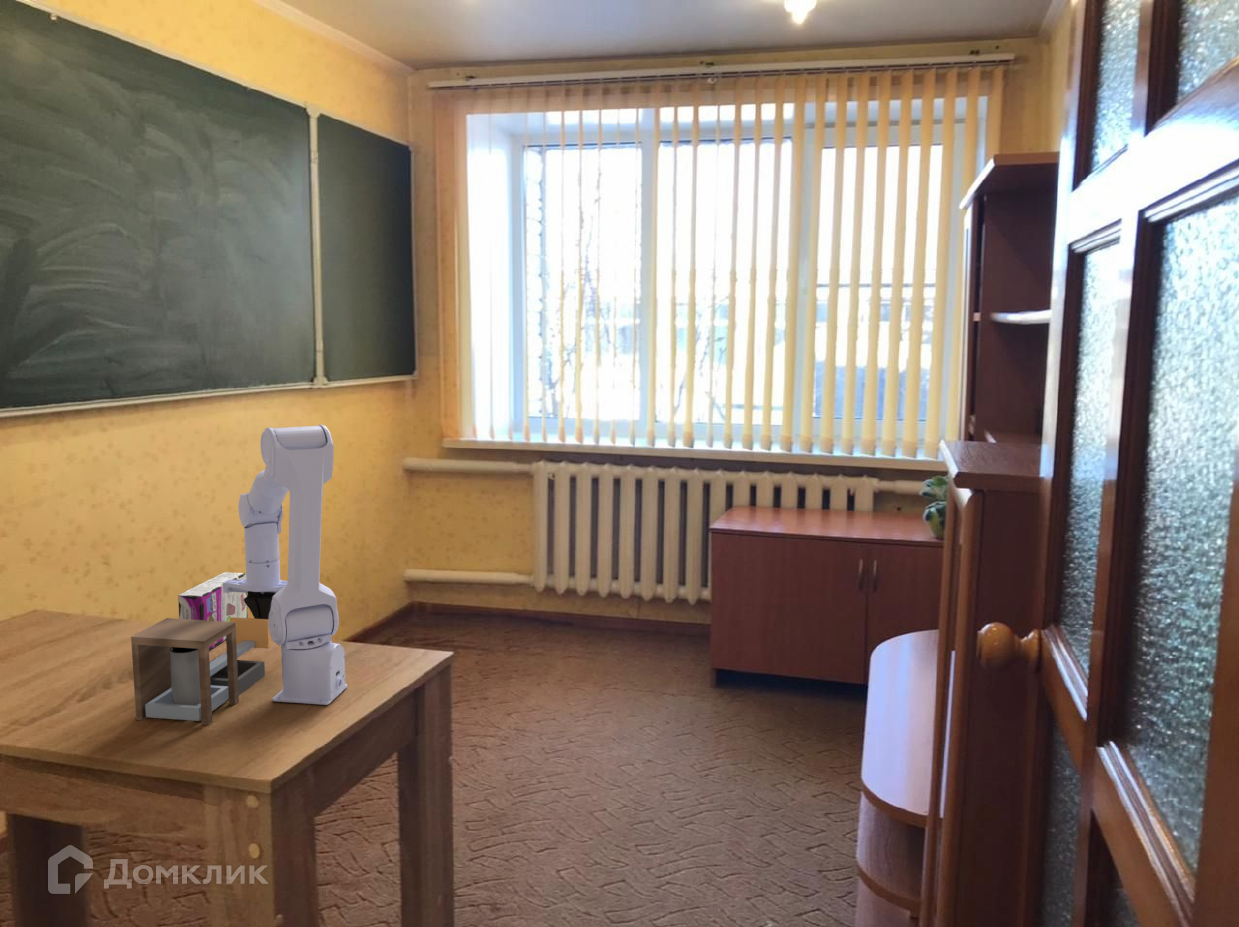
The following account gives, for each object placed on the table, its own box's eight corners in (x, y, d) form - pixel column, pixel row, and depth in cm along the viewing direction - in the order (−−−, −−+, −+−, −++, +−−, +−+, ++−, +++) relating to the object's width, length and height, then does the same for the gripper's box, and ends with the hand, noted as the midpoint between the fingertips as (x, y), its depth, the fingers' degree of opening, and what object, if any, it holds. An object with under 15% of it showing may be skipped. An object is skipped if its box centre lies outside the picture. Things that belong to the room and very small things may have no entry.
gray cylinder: (170, 717, 143) (166, 653, 141) (175, 706, 147) (172, 643, 145) (202, 714, 144) (199, 651, 142) (206, 703, 148) (203, 641, 147)
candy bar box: (177, 652, 170) (225, 625, 186) (203, 654, 169) (249, 627, 185) (175, 593, 168) (224, 571, 184) (201, 595, 168) (248, 572, 184)
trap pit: (264, 675, 160) (264, 661, 160) (237, 695, 151) (237, 681, 151) (215, 672, 161) (214, 658, 161) (185, 692, 152) (184, 677, 152)
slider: (276, 663, 165) (274, 619, 163) (199, 720, 141) (196, 670, 139) (230, 660, 165) (228, 616, 164) (146, 716, 142) (143, 666, 140)
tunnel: (238, 701, 149) (235, 622, 147) (208, 725, 140) (203, 641, 138) (171, 696, 150) (166, 618, 148) (136, 719, 142) (131, 636, 140)
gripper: (311, 555, 170) (313, 627, 172) (235, 551, 172) (239, 622, 174) (293, 565, 163) (295, 639, 165) (215, 561, 165) (218, 635, 167)
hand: (265, 632), depth 169 cm, fingers closed
